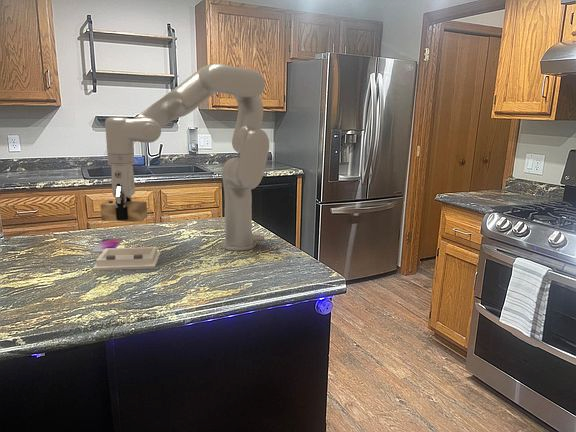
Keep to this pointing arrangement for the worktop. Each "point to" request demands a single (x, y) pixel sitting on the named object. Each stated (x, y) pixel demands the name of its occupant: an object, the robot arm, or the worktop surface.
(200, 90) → the robot arm
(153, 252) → the cabinet frame
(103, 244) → the smartphone
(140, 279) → the worktop surface
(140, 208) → the door panel
